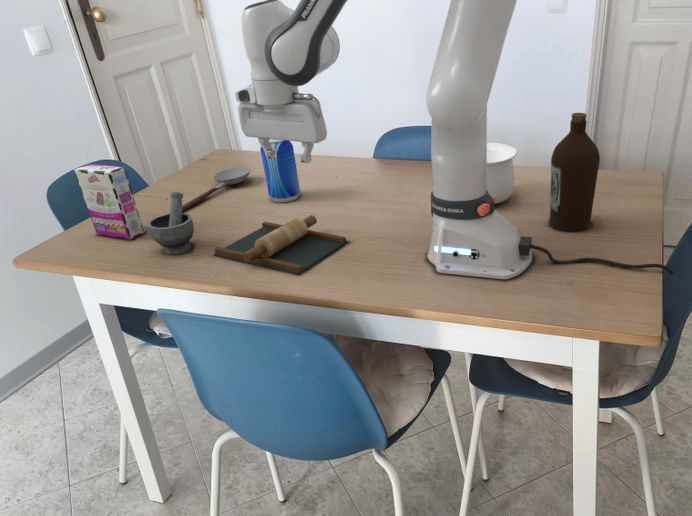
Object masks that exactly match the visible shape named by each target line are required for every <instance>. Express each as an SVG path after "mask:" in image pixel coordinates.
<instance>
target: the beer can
mask: <svg viewBox="0 0 692 516" xmlns="http://www.w3.org/2000/svg"><path fill="white" fill-rule="evenodd" d="M269 143H270V145H271V147H272V148H273V149H276V154H277V157H276V158H274V159H267V158H266V153H265V151H264V149H263V148H262V146H261V145H260V147H259V148H260V155H261V160H262V166H263V171H264V176H265V177H264V178H265V182H266V188H267V192H268V196H269V197H270V198H271V199H272V201H273V202H276V203H288V202H289V203H290V202H293V201H295V200H297V199H298V198H299V195H300V194H301V187H300V182H299V181H300V180H299V175H298V169H297V162H296V157H295V156H296V155H295V151H294V145H293V143H292V141H287V140H276V139H270V141H269Z"/></svg>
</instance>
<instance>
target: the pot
mask: <svg viewBox="0 0 692 516" xmlns="http://www.w3.org/2000/svg"><path fill="white" fill-rule="evenodd" d="M517 155H518V152H517V149H516V148H515V147H513V146H511V145H508V144H506V143H505V144H504V143H500V142H489V141H487V178H486V189H487V191H488V193H489V194H490V196H491V197H492V198H494V197H495V196H496V195H498V197H497V199H498V200H497V201H496V202H495V203H494V205H496V204H500V203H503V202H505V201H507V200H509V198H510V197H511V196H512V195H513V191H514V188H515V168H514V160H513V159H515V157H516V156H517Z"/></svg>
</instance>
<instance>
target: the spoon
mask: <svg viewBox="0 0 692 516" xmlns="http://www.w3.org/2000/svg"><path fill="white" fill-rule="evenodd" d="M251 172H252V168H251V167H249V166H237V167H231V168H227V169H224V170H222V171H219V172H217V173H215V174H214V175H213V176H212V178H213V180H214V181H215V182H218V184H217V185H216V186H214V187H212V188H211V189H209V190H208V191H205V192H203V193H202V194H200V195H198V196H196V197H194V198H193V199H191V200H190V201H188V202H187V203H186V202H185V204H182V212H185V211H186V210H189V209H190V208H192V207H194V206H196V205H197V204H199V203H201V202H203V201H204V200H205V199H207V198H208V197H209V196H210V195H212V194H213V193H215V192H217V191H218V190H221V189H223V188H224V187H225V186H232V185H233V186H234V185H237V184H238V185H239V184H240V183H241V182H243V181H245V180H246V179H247V178H248V176H249V175H250V173H251Z"/></svg>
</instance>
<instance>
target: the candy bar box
mask: <svg viewBox="0 0 692 516" xmlns="http://www.w3.org/2000/svg"><path fill="white" fill-rule="evenodd" d="M73 171H74V173H75V177H76V179H77V182H78V185H79V187H80V190H81V193H82V196H83V197H82V198H83V200H84V202H85V204H86V207H87V211H88V213H89V216H90V218H91V222H92V224H93V227H94V230H95V234H96V235H97V236H101V237H109V238H116V239H122V240H130V241H131V240H133V239H136V238H138V237H139V236H142V235H143V234H144V233H145V229H144V225H143V224H142V220H141V217H140V214H139V210H138V207H137V204H136V200H135V198H134V193H133V191H132V188H131V185H130V181H129V178H128V175H127V171H126V168H125V167H124V166H117V165H116V166H115V165H106V164H105V165H104V164H94V163H89V164H85V165H83V166H80V167H77V168H75V169H73Z"/></svg>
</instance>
